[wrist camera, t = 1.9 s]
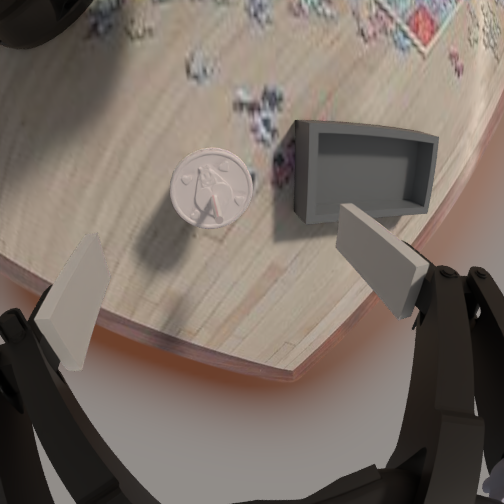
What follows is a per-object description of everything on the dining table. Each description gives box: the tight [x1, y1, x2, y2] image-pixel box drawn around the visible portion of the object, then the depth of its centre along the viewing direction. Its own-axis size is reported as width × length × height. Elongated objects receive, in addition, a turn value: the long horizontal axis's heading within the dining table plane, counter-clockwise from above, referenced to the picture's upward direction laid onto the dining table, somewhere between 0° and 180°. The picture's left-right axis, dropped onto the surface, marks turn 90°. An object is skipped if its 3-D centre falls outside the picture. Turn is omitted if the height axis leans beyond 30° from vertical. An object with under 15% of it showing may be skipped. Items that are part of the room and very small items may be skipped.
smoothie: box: [170, 148, 253, 229], centre depth 23 cm, size 6×6×14 cm
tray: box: [294, 120, 439, 225], centre depth 30 cm, size 11×19×4 cm, turn 92°
